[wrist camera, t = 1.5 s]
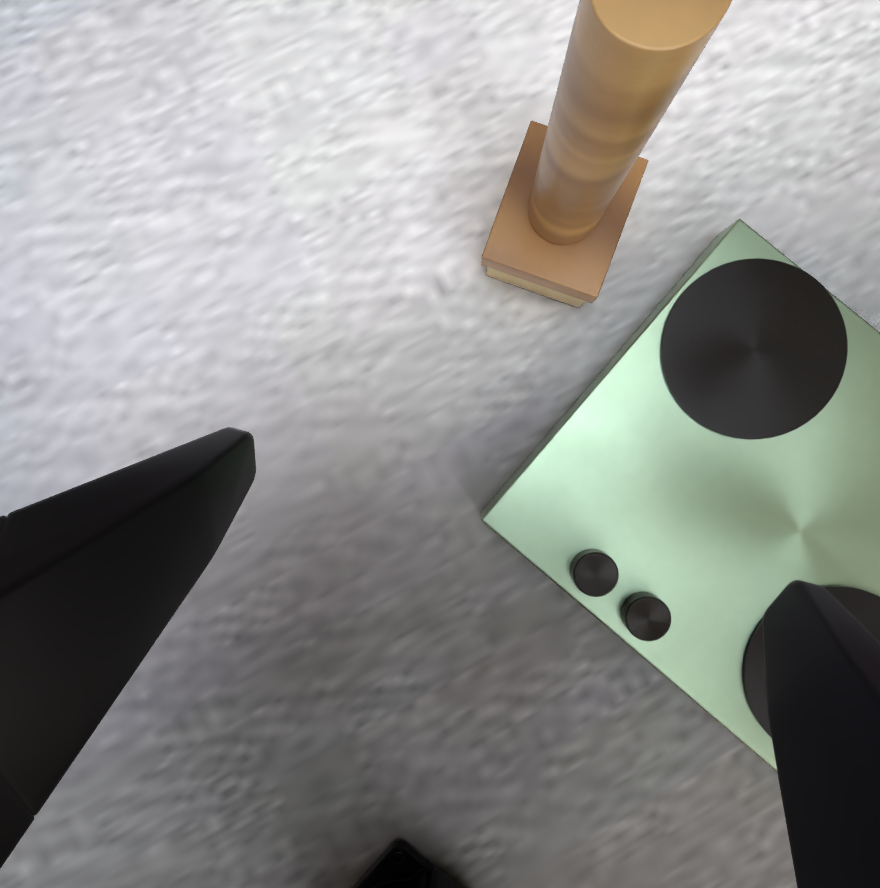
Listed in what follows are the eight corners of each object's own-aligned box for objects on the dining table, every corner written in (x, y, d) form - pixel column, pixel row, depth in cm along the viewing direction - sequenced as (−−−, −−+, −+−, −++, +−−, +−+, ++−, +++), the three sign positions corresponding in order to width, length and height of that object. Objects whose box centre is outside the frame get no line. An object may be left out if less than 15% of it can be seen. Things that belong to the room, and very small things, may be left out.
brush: (581, 314, 24) (730, 157, 10) (480, 278, 25) (491, 77, 11) (627, 193, 24) (840, -133, 10) (523, 158, 24) (594, -210, 10)
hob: (826, 806, 24) (872, 855, 21) (479, 512, 25) (480, 523, 22) (1082, 533, 23) (1165, 547, 21) (717, 235, 24) (750, 209, 21)
